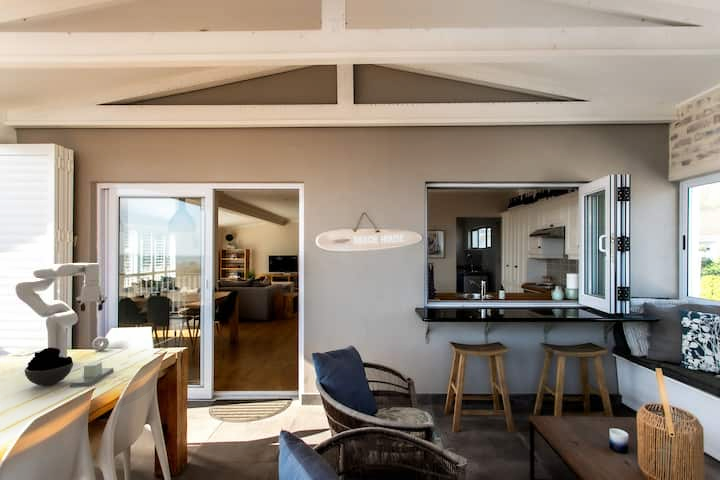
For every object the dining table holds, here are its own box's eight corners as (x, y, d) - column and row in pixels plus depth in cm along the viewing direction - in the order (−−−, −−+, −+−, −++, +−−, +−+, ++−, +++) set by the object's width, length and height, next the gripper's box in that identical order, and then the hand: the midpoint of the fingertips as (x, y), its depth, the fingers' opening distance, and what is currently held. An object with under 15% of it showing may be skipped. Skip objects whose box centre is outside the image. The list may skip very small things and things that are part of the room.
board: (69, 387, 199) (69, 383, 199) (94, 372, 223) (94, 368, 223) (90, 385, 201) (90, 382, 201) (113, 371, 224) (113, 367, 224)
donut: (109, 349, 274) (109, 335, 275) (108, 350, 271) (108, 336, 271) (92, 351, 270) (92, 336, 270) (91, 352, 267) (91, 337, 267)
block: (83, 377, 209) (83, 366, 209) (89, 373, 214) (90, 362, 215) (95, 376, 209) (95, 365, 209) (101, 373, 215) (101, 362, 215)
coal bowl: (67, 375, 217) (67, 342, 218) (78, 383, 205) (78, 347, 205) (20, 385, 202) (20, 349, 202) (29, 394, 189) (29, 356, 190)
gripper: (72, 284, 234) (72, 312, 233) (103, 283, 236) (103, 311, 236) (80, 282, 241) (79, 310, 241) (109, 282, 243) (109, 309, 243)
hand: (91, 310), depth 238 cm, fingers open, 9 cm apart
